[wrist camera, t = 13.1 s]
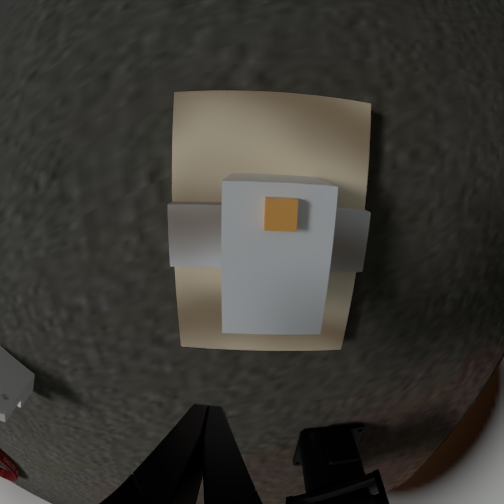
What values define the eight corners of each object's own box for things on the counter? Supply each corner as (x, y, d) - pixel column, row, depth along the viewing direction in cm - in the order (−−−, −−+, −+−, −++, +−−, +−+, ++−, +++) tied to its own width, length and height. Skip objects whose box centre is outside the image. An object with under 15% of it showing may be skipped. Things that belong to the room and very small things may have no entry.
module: (303, 288, 18) (322, 341, 13) (229, 286, 18) (220, 340, 13) (313, 176, 16) (342, 188, 11) (230, 172, 16) (220, 182, 11)
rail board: (336, 337, 21) (344, 357, 19) (185, 334, 21) (178, 354, 19) (362, 107, 16) (377, 101, 14) (180, 96, 16) (169, 88, 14)
